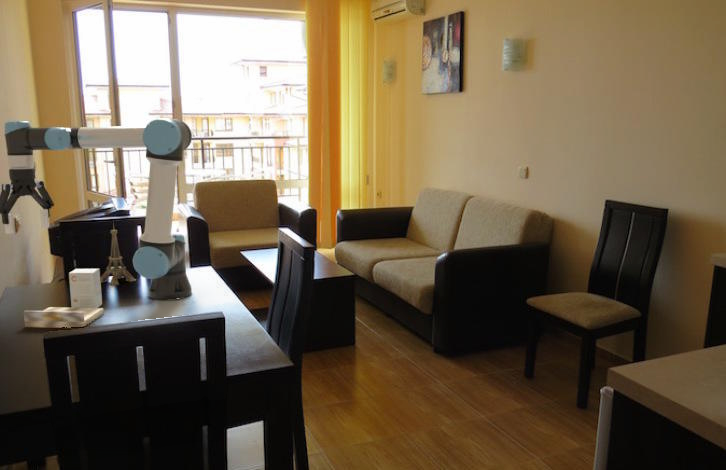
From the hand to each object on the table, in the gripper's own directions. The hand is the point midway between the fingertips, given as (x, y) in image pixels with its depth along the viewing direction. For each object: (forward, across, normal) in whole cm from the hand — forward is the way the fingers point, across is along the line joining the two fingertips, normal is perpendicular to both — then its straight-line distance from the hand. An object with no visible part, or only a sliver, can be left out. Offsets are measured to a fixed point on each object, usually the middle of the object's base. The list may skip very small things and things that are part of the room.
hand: (28, 230), depth 196 cm
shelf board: (+26, +9, +24) cm, 37 cm away
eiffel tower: (+26, -35, +2) cm, 44 cm away
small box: (+26, -4, +19) cm, 33 cm away
